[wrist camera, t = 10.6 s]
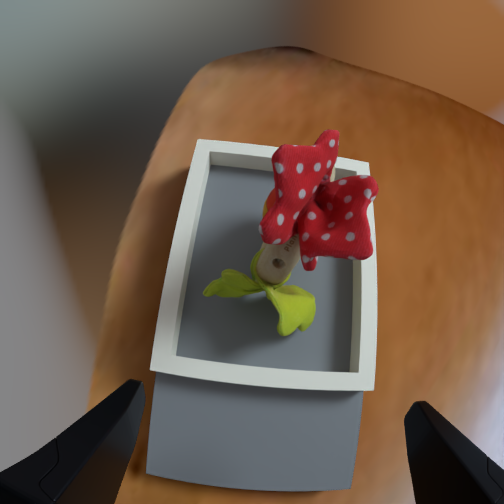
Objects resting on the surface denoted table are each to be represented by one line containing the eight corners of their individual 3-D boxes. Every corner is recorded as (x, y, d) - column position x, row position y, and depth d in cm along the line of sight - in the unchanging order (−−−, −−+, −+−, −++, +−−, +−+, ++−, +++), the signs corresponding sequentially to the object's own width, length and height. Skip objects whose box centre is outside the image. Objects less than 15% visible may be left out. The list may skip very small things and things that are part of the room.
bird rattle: (235, 230, 22) (188, 336, 16) (266, 76, 15) (201, 136, 8) (319, 255, 22) (301, 370, 16) (379, 111, 14) (412, 202, 8)
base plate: (340, 479, 16) (359, 496, 13) (153, 465, 16) (138, 480, 13) (353, 183, 24) (367, 157, 21) (202, 163, 24) (199, 134, 21)
